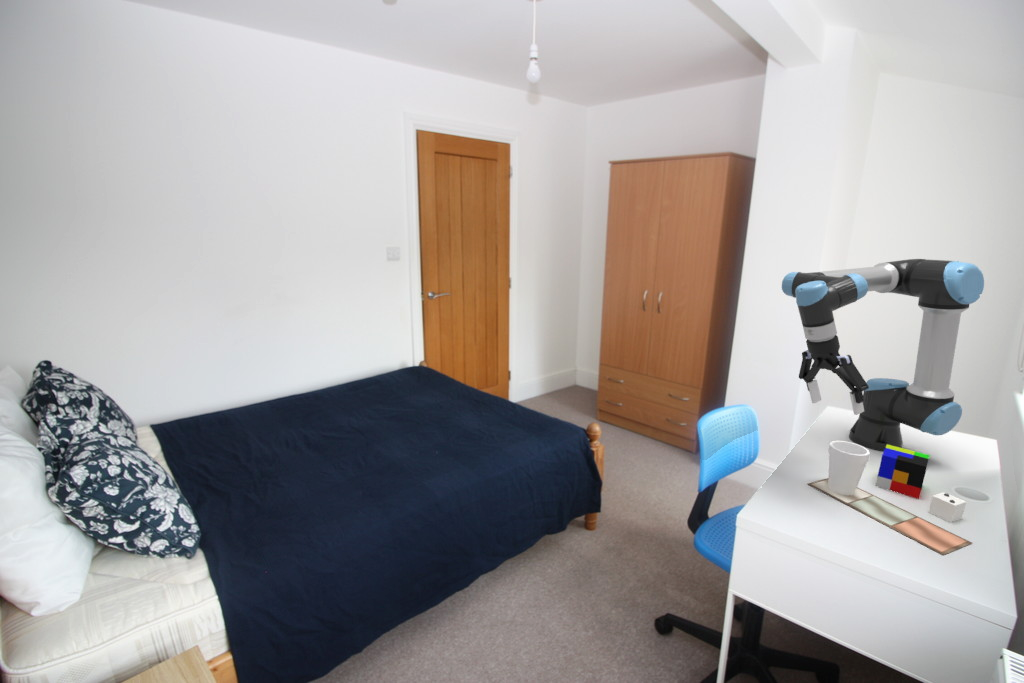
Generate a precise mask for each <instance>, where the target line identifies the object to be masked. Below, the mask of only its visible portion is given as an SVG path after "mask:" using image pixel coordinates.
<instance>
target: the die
mask: <svg viewBox="0 0 1024 683" xmlns="http://www.w3.org/2000/svg"><path fill="white" fill-rule="evenodd" d="M966 504H967V501H966V500H963V499H961V498H958V497H956V496H954V495H952V494H949V493H946V492H940V493H937V494H934V495H932V498H931V501H930V505H929V509H928V513H929V514H932V515H934V516H935V517H938V518H940V519H942V520H944V521H946V522H948V523H950V522H951V523H953V522H957V521H959V520H962V519H963V515H964V512H965V508H966ZM961 518H962V519H961ZM956 520H957V521H956Z"/></svg>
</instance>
